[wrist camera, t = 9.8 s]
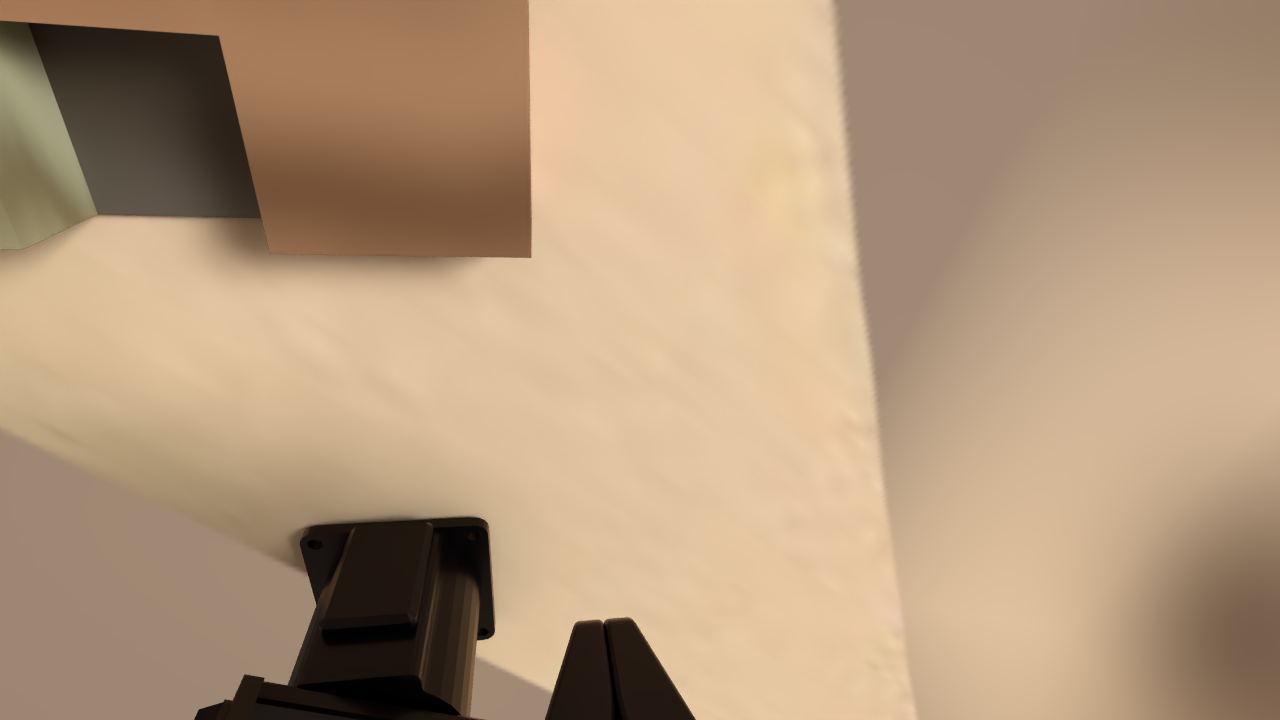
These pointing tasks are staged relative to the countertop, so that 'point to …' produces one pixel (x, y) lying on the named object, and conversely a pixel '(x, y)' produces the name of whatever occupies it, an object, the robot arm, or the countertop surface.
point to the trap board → (272, 120)
